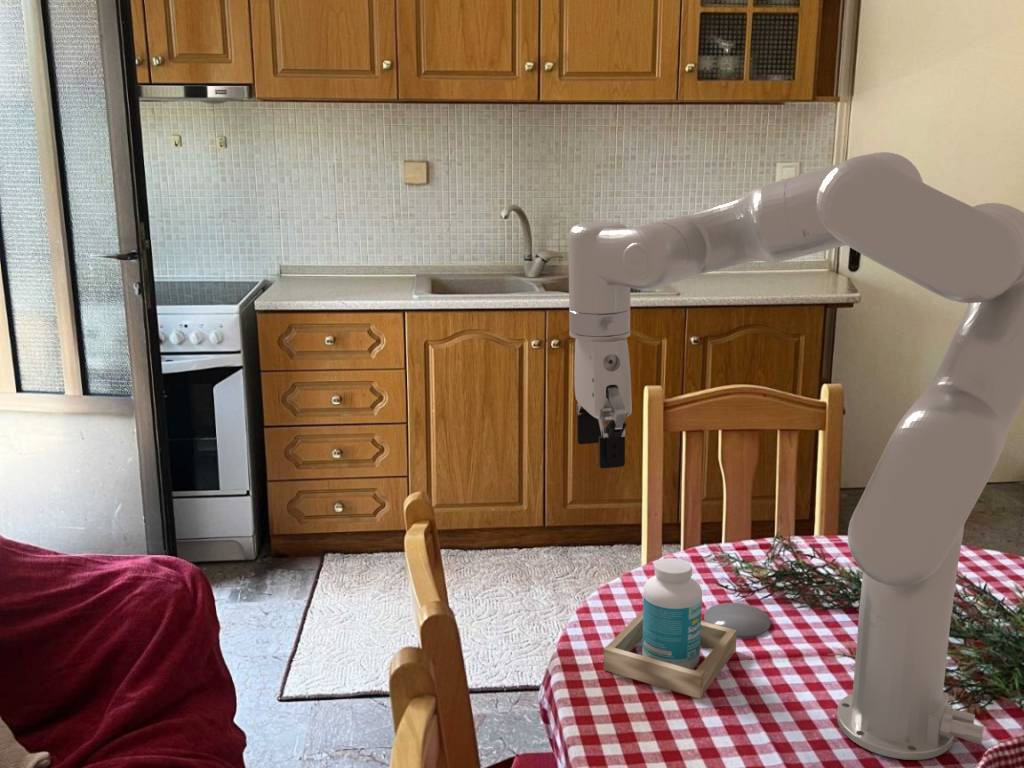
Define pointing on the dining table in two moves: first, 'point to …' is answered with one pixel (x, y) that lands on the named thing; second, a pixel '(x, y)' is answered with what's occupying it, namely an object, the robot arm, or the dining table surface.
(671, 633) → the pill bottle
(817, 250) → the robot arm
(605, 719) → the dining table surface
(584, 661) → the dining table surface
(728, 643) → the wooden frame
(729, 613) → the stone
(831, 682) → the dining table surface
